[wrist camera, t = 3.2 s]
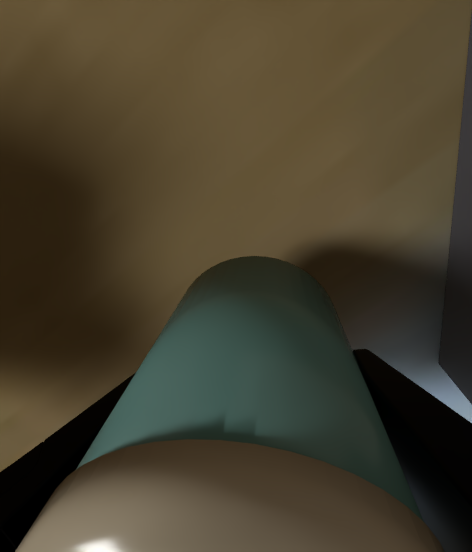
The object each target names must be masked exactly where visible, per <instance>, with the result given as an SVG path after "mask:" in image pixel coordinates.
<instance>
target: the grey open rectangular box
mask: <svg viewBox="0 0 472 552" xmlns="http://www.w3.org/2000/svg"><path fill="white" fill-rule="evenodd" d="M439 364H440V366H441V367H442V368H443V369H444V371H445V372H446V373H447V374H448V376H449V377H450V378H451V379H452V381H453V382H454V383H455V384H456V385H457V387H458V388H459V389H460V390H461V392H462V393H463V394H464V395H465V397H466V398H467V399H468V400H469V401H470V403H471V404H472V16H471V26H470V37H469V48H468V58H467V69H466V79H465V90H464V100H463V111H462V122H461V132H460V143H459V153H458V164H457V174H456V185H455V196H454V206H453V217H452V227H451V238H450V249H449V259H448V270H447V280H446V291H445V301H444V312H443V323H442V333H441V344H440V354H439Z"/></svg>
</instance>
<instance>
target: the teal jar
mask: <svg viewBox="0 0 472 552" xmlns="http://www.w3.org/2000/svg"><path fill="white" fill-rule="evenodd" d="M15 552H444V550H443V548H442V546H441V544H440V542H439V540H438V539H437V538H436V537H435V535H434V534H433V533H432V531H431V530H430V529H429V527H428V526H427V525H426V524H425V523H424V521H423V519H422V516H421V514H420V511H419V509H418V507H417V504H416V502H415V499H414V497H413V495H412V492H411V490H410V487H409V485H408V483H407V480H406V478H405V475H404V473H403V471H402V468H401V466H400V464H399V461H398V459H397V456H396V454H395V452H394V449H393V447H392V444H391V442H390V440H389V437H388V435H387V432H386V430H385V428H384V425H383V423H382V421H381V418H380V416H379V413H378V411H377V409H376V406H375V404H374V401H373V399H372V397H371V394H370V392H369V389H368V387H367V385H366V382H365V380H364V378H363V375H362V373H361V370H360V368H359V366H358V363H357V361H356V358H355V356H354V354H353V351H352V349H351V346H350V344H349V342H348V339H347V337H346V335H345V332H344V330H343V327H342V325H341V323H340V320H339V318H338V315H337V313H336V311H335V308H334V306H333V304H332V302H331V300H330V297H329V296H328V294H327V293H326V291H325V290H324V288H323V287H322V286H321V285H320V284H319V283H318V282H317V281H316V280H315V279H314V278H313V277H312V276H311V275H309V274H308V273H307V272H305V271H304V270H302V269H300V268H299V267H297V266H295V265H293V264H290V263H288V262H285V261H282V260H279V259H275V258H269V257H260V256H249V257H239V258H234V259H230V260H227V261H224V262H221V263H219V264H217V265H215V266H213V267H211V268H209V269H208V270H207V271H205V272H204V273H202V274H201V275H200V276H199V277H198V278H197V279H196V280H195V281H194V282H193V283H192V284H191V286H190V287H189V288H188V290H187V291H186V293H185V295H184V296H183V298H182V300H181V301H180V303H179V304H178V306H177V308H176V309H175V311H174V312H173V314H172V316H171V317H170V319H169V320H168V322H167V324H166V325H165V327H164V328H163V330H162V332H161V333H160V335H159V337H158V338H157V340H156V341H155V343H154V345H153V346H152V348H151V349H150V351H149V353H148V354H147V356H146V357H145V359H144V361H143V362H142V364H141V366H140V367H139V369H138V370H137V372H136V374H135V375H134V377H133V378H132V380H131V382H130V383H129V385H128V386H127V388H126V390H125V391H124V393H123V395H122V396H121V398H120V399H119V401H118V403H117V404H116V406H115V407H114V409H113V411H112V412H111V414H110V415H109V417H108V419H107V420H106V422H105V423H104V425H103V427H102V428H101V430H100V432H99V433H98V435H97V436H96V438H95V440H94V441H93V443H92V444H91V446H90V448H89V449H88V451H87V452H86V454H85V456H84V457H83V459H82V461H81V462H80V464H79V465H78V467H77V469H76V470H75V471H74V472H72V473H71V474H70V475H68V476H67V477H66V478H65V479H64V480H63V481H62V482H61V483H60V485H59V486H58V487H57V488H56V489H55V491H54V492H53V494H52V495H51V497H50V498H49V500H48V501H47V503H46V504H45V506H44V508H43V509H42V511H41V512H40V514H39V515H38V517H37V518H36V520H35V522H34V523H33V525H32V526H31V528H30V529H29V531H28V532H27V534H26V535H25V537H24V539H23V540H22V542H21V543H20V545H19V546H18V548H17V549H16V551H15Z"/></svg>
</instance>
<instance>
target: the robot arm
mask: <svg viewBox="0 0 472 552" xmlns="http://www.w3.org/2000/svg"><path fill="white" fill-rule="evenodd" d="M353 354H354V356H355V358H356V361H357V363H358V366H359V368H360V370H361V373H362V375H363V378H364V380H365V382H366V385H367V387H368V389H369V392H370V394H371V397H372V399H373V401H374V404H375V406H376V409H377V411H378V413H379V416H380V418H381V421H382V423H383V425H384V428H385V430H386V432H387V435H388V437H389V440H390V442H391V444H392V447H393V449H394V452H395V454H396V456H397V459H398V461H399V464H400V466H401V468H402V471H403V473H404V475H405V478H406V480H407V483H408V485H409V487H410V490H411V492H412V495H413V497H414V499H415V502H416V504H417V507H418V509H419V511H420V514H421V516H422V519H423V521H424V523H425V524H426V525H427V526H428V527H429V529H430V530H431V531H432V533H433V534H434V535H435V537H436V538H437V539H438V540H439V542H440V544H441V546H442V548H443V550H444V552H472V423H470V422H469V421H468V420H466V419H465V418H463V417H462V416H461V415H459V414H458V413H456V412H455V411H454V410H452V409H451V408H449V407H448V406H446V405H445V404H444V403H442V402H441V401H439V400H438V399H437V398H435V397H434V396H432V395H431V394H430V393H428V392H427V391H425V390H424V389H423V388H421V387H420V386H418V385H417V384H416V383H414V382H413V381H411V380H410V379H409V378H407V377H406V376H404V375H403V374H401V373H400V372H399V371H397V370H396V369H394V368H393V367H392V366H390V365H389V364H387V363H386V362H385V361H383V360H382V359H380V358H379V357H378V356H376V355H375V354H373V353H372V352H371V351H369V350H367V349H357V350H353ZM135 374H136V373H135ZM135 374H133V375H132V376H131V377H129V378H128V379H127V380H125V381H124V382H123V383H121V384H120V385H118V386H117V387H116V388H114V389H113V390H112V391H110V392H109V393H108V394H106V395H105V396H104V397H102V398H101V399H100V400H98V401H97V402H96V403H94V404H93V405H91V406H90V407H89V408H87V409H86V410H85V411H83V412H82V413H81V414H79V415H78V416H77V417H75V418H74V419H73V420H71V421H70V422H68V423H67V424H66V425H64V426H63V427H62V428H60V429H59V430H58V431H56V432H55V433H54V434H52V435H51V436H50V437H48V438H47V439H46V440H45V441H44V442H41V443H40V444H39V445H37V446H36V447H35V448H33V449H32V450H31V451H29V452H28V453H27V454H25V455H24V456H22V457H21V458H20V459H18V460H17V461H15V462H14V463H13V464H11V465H10V466H8V467H7V468H6V469H4V470H3V471H1V472H0V552H15V551H16V549H17V548H18V546H19V545H20V543H21V542H22V540H23V539H24V537H25V535H26V534H27V532H28V531H29V529H30V528H31V526H32V525H33V523H34V522H35V520H36V518H37V517H38V515H39V514H40V512H41V511H42V509H43V508H44V506H45V504H46V503H47V501H48V500H49V498H50V497H51V495H52V494H53V492H54V491H55V489H56V488H57V487H58V486H59V485H60V483H61V482H62V481H63V480H64V479H65V478H66V477H67V476H68V475H70V474H71V473H72V472H74V471H75V470H76V469H77V467H78V465H79V464H80V462H81V461H82V459H83V457H84V456H85V454H86V452H87V451H88V449H89V448H90V446H91V444H92V443H93V441H94V440H95V438H96V436H97V435H98V433H99V432H100V430H101V428H102V427H103V425H104V423H105V422H106V420H107V419H108V417H109V415H110V414H111V412H112V411H113V409H114V407H115V406H116V404H117V403H118V401H119V399H120V398H121V396H122V395H123V393H124V391H125V390H126V388H127V386H128V385H129V383H130V382H131V380H132V378H133V377H134V375H135Z"/></svg>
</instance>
